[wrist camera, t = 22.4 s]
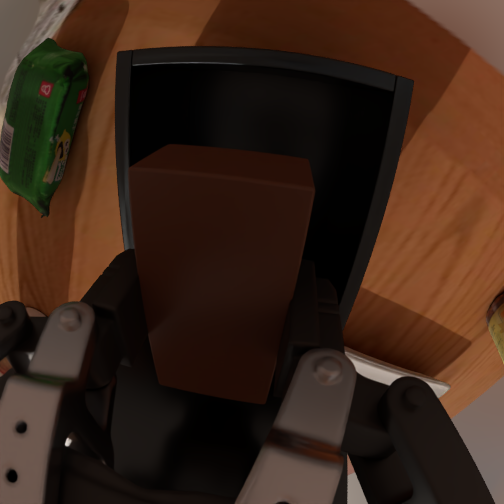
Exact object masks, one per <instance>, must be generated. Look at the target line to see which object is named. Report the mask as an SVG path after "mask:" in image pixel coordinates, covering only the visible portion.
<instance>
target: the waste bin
mask: <svg viewBox="0 0 504 504" xmlns="http://www.w3.org/2000/svg"><path fill="white" fill-rule="evenodd" d="M413 85H414V81H413V80H411V79H408V78H405V77H402V76H398V75H395V74H391V73H388V72H385V71H381V70H377V69H374V68H370V67H366V66H362V65H358V64H354V63H349V62H345V61H340V60H335V59H330V58H325V57H320V56H314V55H308V54H301V53H294V52H287V51H279V50H269V49H259V48H245V47H225V46H180V47H160V48H147V49H136V50H127V51H119V52H118V53H117V64H116V85H115V144H116V167H117V183H118V196H119V207H120V216H121V226H122V234H123V242H124V249H125V250H127V249H129V248H130V249H134V240H133V231H132V221H131V210H130V197H129V181H128V169H129V167H131V166H132V165H134V164H136V163H137V162H139V161H141V160H142V159H144V158H146V157H147V156H149V155H151V154H152V153H154V152H156V151H158V150H159V149H161V148H163V147H165V146H166V145H168V144H179V145H194V146H206V147H218V148H228V149H238V150H247V151H255V152H263V153H271V154H278V155H285V156H292V157H299V158H305V159H308V160H309V163H310V168H311V173H312V177H313V182H314V187H315V196H314V201H313V206H312V211H311V216H310V221H309V226H308V231H307V236H306V241H305V245H304V250H303V255H302V259H305V260H311V261H314V263H315V274H316V277H318V278H326V279H329V281H330V282H331V284H332V285H333V286H334V288H335V289H336V292H337V298H338V305H339V315H340V319H341V326H342V331H343V329H344V326H345V324H346V321H347V319H348V317H349V314H350V312H351V309H352V306H353V304H354V301H355V299H356V296H357V293H358V291H359V288H360V285H361V283H362V280H363V277H364V274H365V272H366V269H367V266H368V263H369V260H370V257H371V254H372V251H373V248H374V245H375V242H376V239H377V236H378V233H379V230H380V226H381V223H382V220H383V216H384V213H385V210H386V206H387V203H388V199H389V196H390V192H391V188H392V184H393V181H394V177H395V173H396V169H397V165H398V161H399V156H400V152H401V148H402V143H403V139H404V134H405V129H406V124H407V119H408V114H409V109H410V103H411V97H412V91H413Z"/></svg>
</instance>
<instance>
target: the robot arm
mask: <svg viewBox="0 0 504 504" xmlns="http://www.w3.org/2000/svg"><path fill="white" fill-rule="evenodd" d="M147 335H148V328H147V323H146V318H145V312H144V306H143V300H142V294H141V288H140V281H139V275H138V272H137V265H136V257H135V249H130V248H129V249H127V250H125V251H124V252H122V253H120V254H119V255H117V256H116V257H115V258H114V260H113V261H112V262H111V263H110V264H109V267H107V268H106V269H105V270H104V272H103V274H102V275H100V276H99V278H98V279H97V280H96V281H95V283H94V284H93V285H92V286H91V288H90V289H89V290H88V291H87V293H86V294H85V295H84V297H83V298H82V299H81V300H80V302H68V303H65V304H62V305H61V306H59V307H57V308H56V309H55V310H54V311H53V312H52V313H51V314H50V316H49V317H33V316H29V314H28V312H27V310H26V308H25V306H24V304H22V303H21V302H19V301H8V302H5V303H3V304H1V305H0V361H1V360H2V359H4V358H5V357H6V358H7V360H8V362H9V363H10V365H11V366H12V368H10V369H9V370H8V371H7V372H6V373H5V374H3V375H2V376H1V377H0V504H332V502H333V499H334V496H335V493H336V490H337V486H338V483H339V480H340V476H341V473H342V469H343V463H344V457H343V455H342V454H341V453H340V451H343V452H347V453H348V456H349V458H350V461H351V463H352V466H353V468H354V470H355V473H356V475H357V478H358V480H359V482H360V485H361V487H362V490H363V493H364V495H365V497H366V500H367V502H368V504H495V502H494V500H493V498H492V496H491V494H490V492H489V490H488V488H487V486H486V484H485V481H484V480H483V478H482V476H481V474H480V472H479V470H478V468H477V466H476V464H475V462H474V460H473V459H472V456H471V455H470V453H469V451H468V449H467V447H466V445H465V444H464V442H463V440H462V438H461V436H460V435H459V433H458V431H457V430H456V428H455V426H454V424H453V422H452V421H451V419H450V417H449V416H448V414H447V412H446V410H445V409H444V407H443V405H442V404H441V402H440V400H439V399H438V397H437V396H436V394H435V392H434V391H433V389H432V388H431V387H430V386H429V385H428V384H427V383H426V382H425V381H423V380H421V379H419V378H416V377H412V376H404V377H400V378H398V379H396V380H395V381H393V382H392V383H391V385H387V384H384V383H381V382H378V381H375V380H372V379H369V378H366V377H364V376H363V375H361V374H359V373H358V372H357V371H356V368H355V366H354V364H353V362H352V361H351V360H350V359H349V358H348V357H347V356H346V355H345V349H344V341H343V333H342V326H341V319H340V315H339V305H338V298H337V292H336V289H335V288H334V286H333V285H332V284H331V282H330V281H329V279H326V278H318V277H316V274H315V263H314V261H311V260H305V259H301V264H300V268H299V273H298V277H297V282H296V286H295V291H294V295H293V299H292V300H291V301H290V305H289V309H288V313H287V318H286V322H285V326H284V330H283V334H282V338H281V342H280V346H279V350H278V354H277V361H276V372H275V383H274V393H273V397H281V398H282V405H281V407H280V410H279V412H278V414H277V417H276V419H275V421H274V424H273V426H272V428H271V430H270V432H269V434H268V436H267V438H266V440H265V442H264V444H263V447H262V449H261V451H260V453H259V455H258V457H257V459H256V462H255V464H254V466H253V468H252V470H251V472H250V474H249V476H248V478H247V480H246V482H245V484H244V486H243V488H242V490H241V492H240V494H239V496H238V498H233V497H226V496H220V495H215V494H209V493H204V492H199V491H172V490H153V489H145V488H141V487H139V486H138V485H136V484H134V483H133V482H131V481H129V480H128V479H126V478H125V477H123V476H122V475H120V474H119V473H117V472H116V471H114V448H113V444H112V440H111V424H112V416H113V408H114V400H115V393H116V386H117V375H116V373H115V372H116V370H117V368H118V366H119V364H121V365H125V366H128V367H132V366H133V364H134V362H135V360H136V358H137V356H138V354H139V351H140V349H141V347H142V345H143V343H144V341H145V339H146V337H147Z"/></svg>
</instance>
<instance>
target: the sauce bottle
mask: <svg viewBox="0 0 504 504" xmlns="http://www.w3.org/2000/svg"><path fill="white" fill-rule="evenodd" d="M486 321H487V325H488V328H489V332H490V334H491V336H492V338H493V341H494V343H495V345H496V347H497V349H498V352H499V354H500V356H501V359H502V361H503V364H504V293H503V294H502V295H500V296H498V297H497V298H496V299H495V300H494V302H493V304H492V305H491V306H490V308H489V310H488V312H487V316H486Z"/></svg>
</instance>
